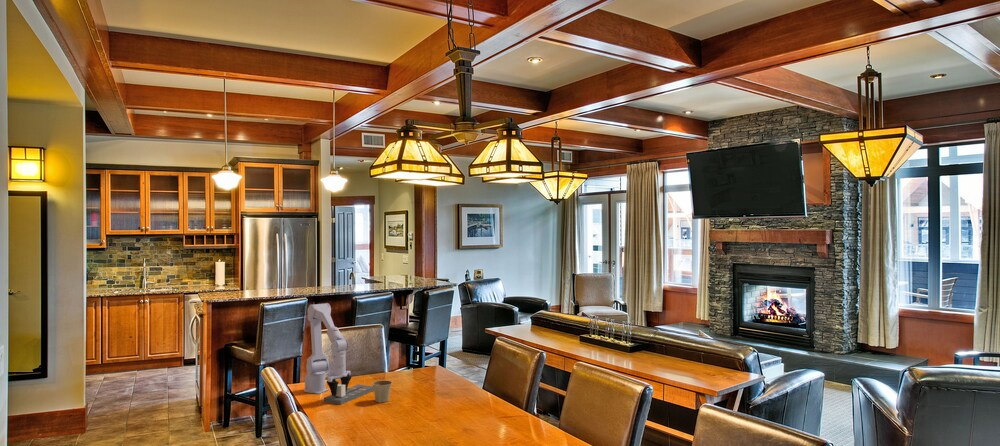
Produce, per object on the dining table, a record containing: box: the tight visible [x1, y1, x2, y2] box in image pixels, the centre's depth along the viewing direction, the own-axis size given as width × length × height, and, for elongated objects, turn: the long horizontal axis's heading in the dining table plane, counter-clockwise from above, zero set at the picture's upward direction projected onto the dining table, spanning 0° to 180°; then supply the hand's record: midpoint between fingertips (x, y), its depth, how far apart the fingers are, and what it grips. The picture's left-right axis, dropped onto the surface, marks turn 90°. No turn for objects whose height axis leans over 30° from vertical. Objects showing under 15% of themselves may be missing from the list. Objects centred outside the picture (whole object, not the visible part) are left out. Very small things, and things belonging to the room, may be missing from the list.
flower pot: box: [371, 379, 393, 403], centre depth 272 cm, size 9×9×9 cm
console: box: [323, 383, 374, 406], centre depth 280 cm, size 10×26×2 cm, turn 157°
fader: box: [336, 383, 346, 397], centre depth 272 cm, size 5×3×5 cm, turn 67°
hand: (339, 393), depth 272 cm, fingers open, 7 cm apart
